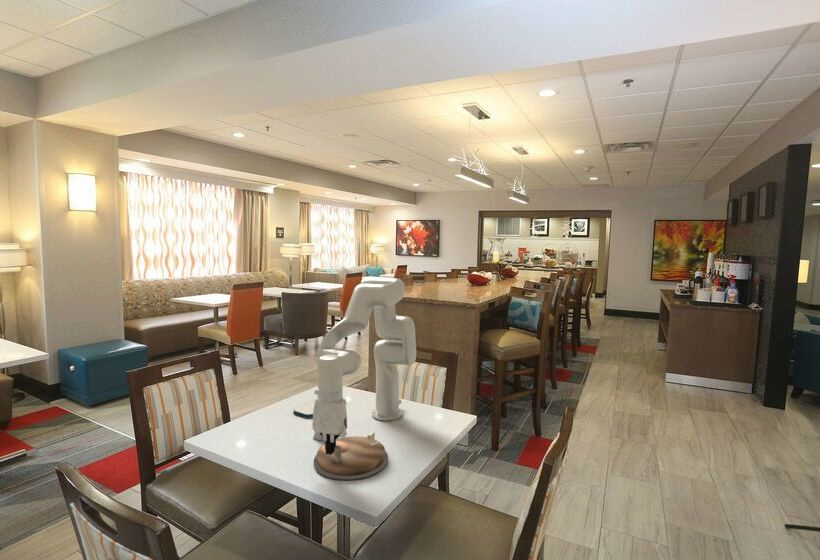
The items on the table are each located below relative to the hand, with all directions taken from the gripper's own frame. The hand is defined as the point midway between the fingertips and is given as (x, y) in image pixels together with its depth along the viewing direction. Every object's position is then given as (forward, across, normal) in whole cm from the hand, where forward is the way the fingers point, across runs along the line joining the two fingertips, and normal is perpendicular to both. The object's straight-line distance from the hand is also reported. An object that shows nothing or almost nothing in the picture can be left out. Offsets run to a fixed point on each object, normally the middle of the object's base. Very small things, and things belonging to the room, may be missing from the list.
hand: (330, 452), depth 134 cm
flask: (+6, -14, +20) cm, 25 cm away
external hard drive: (+6, -30, +45) cm, 54 cm away
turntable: (+4, +4, +7) cm, 9 cm away
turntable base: (+6, +4, +8) cm, 11 cm away
